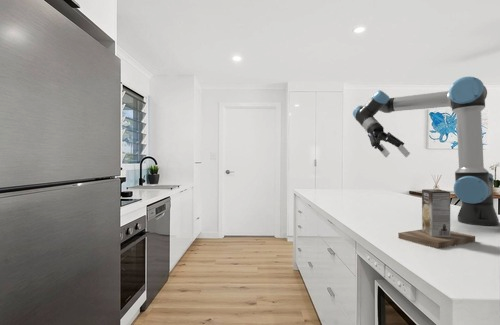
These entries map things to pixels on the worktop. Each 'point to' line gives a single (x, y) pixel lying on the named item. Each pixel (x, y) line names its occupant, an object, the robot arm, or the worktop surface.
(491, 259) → the worktop surface
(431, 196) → the coffee box
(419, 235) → the walnut board
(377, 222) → the worktop surface
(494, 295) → the worktop surface
